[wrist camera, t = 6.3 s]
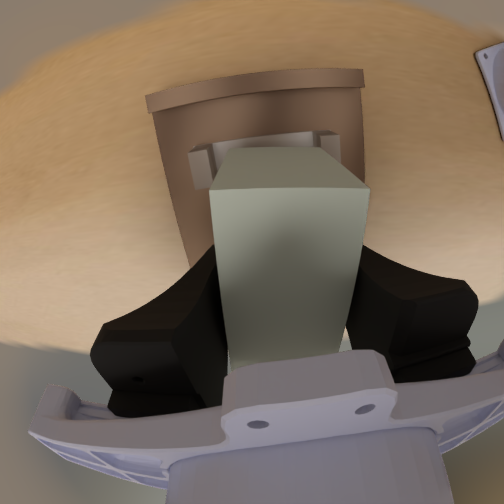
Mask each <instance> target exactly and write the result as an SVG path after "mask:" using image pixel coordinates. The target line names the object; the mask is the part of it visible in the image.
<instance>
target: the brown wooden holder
mask: <svg viewBox="0 0 504 504" xmlns="http://www.w3.org/2000/svg"><path fill="white" fill-rule="evenodd" d="M362 87H365V84H364V75H363V69H341V68H321V69H294V70H279V71H268V72H259V73H250V74H243V75H236V76H229V77H223V78H217V79H212V80H207V81H202V82H197V83H192V84H188V85H183V86H179V87H175V88H171V89H167V90H163V91H160V92H156V93H152V94H149V95H146V96H145V98H146V103H147V108H148V113H152V114H153V119H154V124H155V129H156V134H157V139H158V144H159V148H160V153H161V157H162V162H163V166H164V170H165V175H166V179H167V183H168V187H169V191H170V195H171V199H172V203H173V207H174V211H175V215H176V218H177V222H178V226H179V230H180V233H181V237H182V240H183V244H184V248H185V251H186V255H187V258H188V261H189V265H190V268H192V267H193V266H194V265H195V264H196V262H197V261H198V260H199V259H200V258H201V257H202V256H203V255H204V254H205V252H206V251H207V250H208V249H209V248H210V247H211V246H212V245H214V235H213V225H212V216H211V206H210V196H209V189H210V187H211V185H212V183H213V181H214V179H215V177H216V174H217V172H218V170H219V168H220V166H221V164H222V162H223V160H224V158H225V156H226V154H227V152H228V150H229V148H248V147H320V148H321V149H323V150H324V151H325V152H327V153H328V154H329V155H330V156H332V157H333V158H334V159H335V160H337V161H338V162H339V163H340V164H342V165H343V166H344V167H345V168H346V169H348V170H349V171H350V172H351V173H352V174H354V175H355V176H356V177H357V178H358V179H360V180H361V181H362V182H363V183H364V184H365V170H364V135H363V117H362V104H361V92H360V88H362Z"/></svg>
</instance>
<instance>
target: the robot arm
mask: <svg viewBox="0 0 504 504" xmlns="http://www.w3.org/2000/svg"><path fill="white" fill-rule="evenodd" d="M484 57H485V58H484ZM476 59H477V61H478V64H479V66H480V69H481V71H482V74H483V76H484V79H485V82H486V84H487V87H488V90H489V93H490V96H491V99H492V102H493V105H494V109H495V112H496V116H497V119H498V123H499V127H500V131H501V135H502V139H503V141H504V42H502V43H499V44H496V45H493V46H491V47H488V48H485V49H482V50H480V51H477V52H476ZM478 302H479V301H478V298H477V295H476V294H475V293H474V291H473V290H472V289H471V288H470V287H469V285H468V284H467V283H466V282H465V281H464V280H458V279H452V278H445V277H440V276H436V275H432V274H428V273H424V272H421V271H418V270H415V269H412V268H409V267H406V266H404V265H401V264H399V263H397V262H394V261H392V260H390V259H388V258H386V257H384V256H382V255H380V254H378V253H376V252H375V251H373V250H371V249H369V248H368V247H366V246H364V245H362V250H361V256H360V261H359V267H358V272H357V277H356V282H355V287H354V291H353V296H352V300H351V305H350V309H349V313H348V317H347V321H346V325H345V326H346V329H347V332H348V335H349V339H350V343H351V347H352V350H349V351H343V352H337V353H331V354H325V355H318V356H311V357H304V358H296V359H288V360H279V361H269V362H258V363H254V364H250V365H246V366H241V367H238V368H236V369H235V370H234V371H233V372H231V373H230V374H229V375H227V366H228V344H227V337H226V330H225V323H224V316H223V309H222V301H221V293H220V286H219V278H218V269H217V261H216V252H215V244H214V245H212V246H211V247H210V248H209V249H208V250H207V251H206V252H205V254H204V255H203V256H202V257H201V258H200V259H199V260H198V261H197V262H196V264H195V265H194V266H193V267H192V268H191V269H190V270H189V271H188V272H187V273H186V274H185V275H184V276H183V277H182V278H181V279H179V280H178V281H177V282H176V283H175V284H174V285H173V286H171V287H170V288H169V289H167V290H166V291H165V292H163V293H162V294H161V295H159V296H158V297H156V298H155V299H153V300H152V301H150V302H149V303H147V304H145V305H143V306H142V307H140V308H138V309H136V310H134V311H132V312H130V313H128V314H126V315H124V316H122V317H119V318H117V319H114V320H112V321H110V322H107V323H104V324H103V326H102V328H101V330H100V332H99V334H98V336H97V338H96V340H95V342H94V344H93V346H92V348H91V352H90V357H91V361H92V363H93V365H94V366H95V368H96V369H97V371H98V372H99V373H100V375H101V376H102V377H103V378H104V380H105V381H106V382H107V383H108V385H109V386H110V387H111V388H112V389H113V391H112V394H111V397H110V400H109V403H108V405H105V404H99V403H93V402H88V401H82V400H81V399H80V398H79V397H78V395H77V394H76V393H75V392H74V391H72V390H71V389H69V388H67V387H63V386H58V385H53V384H48V385H47V387H46V389H45V391H44V393H43V395H42V397H41V400H40V402H39V405H38V407H37V409H36V411H35V414H34V416H33V419H32V421H31V423H30V426H29V429H28V432H29V434H31V435H32V436H33V437H35V438H36V439H37V440H39V441H40V442H41V443H43V444H44V445H45V446H47V447H48V448H50V449H51V450H52V451H54V452H55V453H57V454H58V455H60V456H62V457H63V458H64V459H66V460H68V461H71V462H74V463H77V464H79V465H82V466H85V467H88V468H90V469H93V470H97V471H99V472H103V473H105V474H108V475H111V476H115V477H118V478H121V479H125V480H128V481H132V482H135V483H139V484H143V485H148V486H152V487H156V488H160V489H165V490H167V495H166V503H165V504H454V500H453V496H452V492H451V488H450V484H449V480H448V476H447V473H446V470H445V466H444V462H443V459H442V456H441V454H443V453H445V452H447V451H449V450H451V449H453V448H455V447H456V446H458V445H460V444H462V443H464V442H466V441H467V440H469V439H471V438H472V437H474V436H476V435H478V434H479V433H481V432H482V431H484V430H486V429H487V428H489V427H490V426H492V425H493V424H495V423H497V422H498V421H500V420H501V419H503V418H504V340H503V341H502V343H501V344H500V346H499V348H498V351H496V352H493V353H491V354H489V355H487V356H485V357H483V358H480V359H478V360H475V359H474V357H473V355H472V353H471V352H470V350H469V348H468V347H469V346H470V344H471V343H470V340H469V338H468V337H467V334H468V332H469V330H470V327H471V325H472V323H473V321H474V319H475V316H476V313H477V310H478Z"/></svg>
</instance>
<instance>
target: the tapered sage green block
mask: <svg viewBox="0 0 504 504" xmlns="http://www.w3.org/2000/svg"><path fill="white" fill-rule="evenodd" d="M209 196H210V206H211V216H212V225H213V235H214V244H215V252H216V261H217V269H218V278H219V286H220V293H221V301H222V309H223V316H224V323H225V330H226V337H227V344H228V351H229V357H230V364H231V370H232V372H233V371H234V370H235V369H236V368H238V367H241V366H246V365H250V364H254V363H258V362H269V361H279V360H288V359H296V358H304V357H311V356H318V355H325V354H331V353H337V352H339V348H340V344H341V341H342V337H343V333H344V329H345V325H346V321H347V317H348V313H349V309H350V305H351V300H352V296H353V291H354V287H355V282H356V277H357V272H358V267H359V261H360V256H361V250H362V245H363V238H364V232H365V226H366V219H367V212H368V204H369V196H370V188H369V187H368V186H366V185H365V184H364V183H363V182H362V181H361V180H360V179H358V178H357V177H356V176H355V175H354V174H352V173H351V172H350V171H349V170H348V169H346V168H345V167H344V166H343V165H342V164H340V163H339V162H338V161H337V160H335V159H334V158H333V157H332V156H330V155H329V154H328V153H327V152H325V151H324V150H323V149H321V148H320V147H248V148H229V150H228V152H227V154H226V156H225V158H224V160H223V162H222V164H221V166H220V168H219V170H218V172H217V174H216V177H215V179H214V181H213V183H212V185H211V187H210V189H209Z"/></svg>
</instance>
